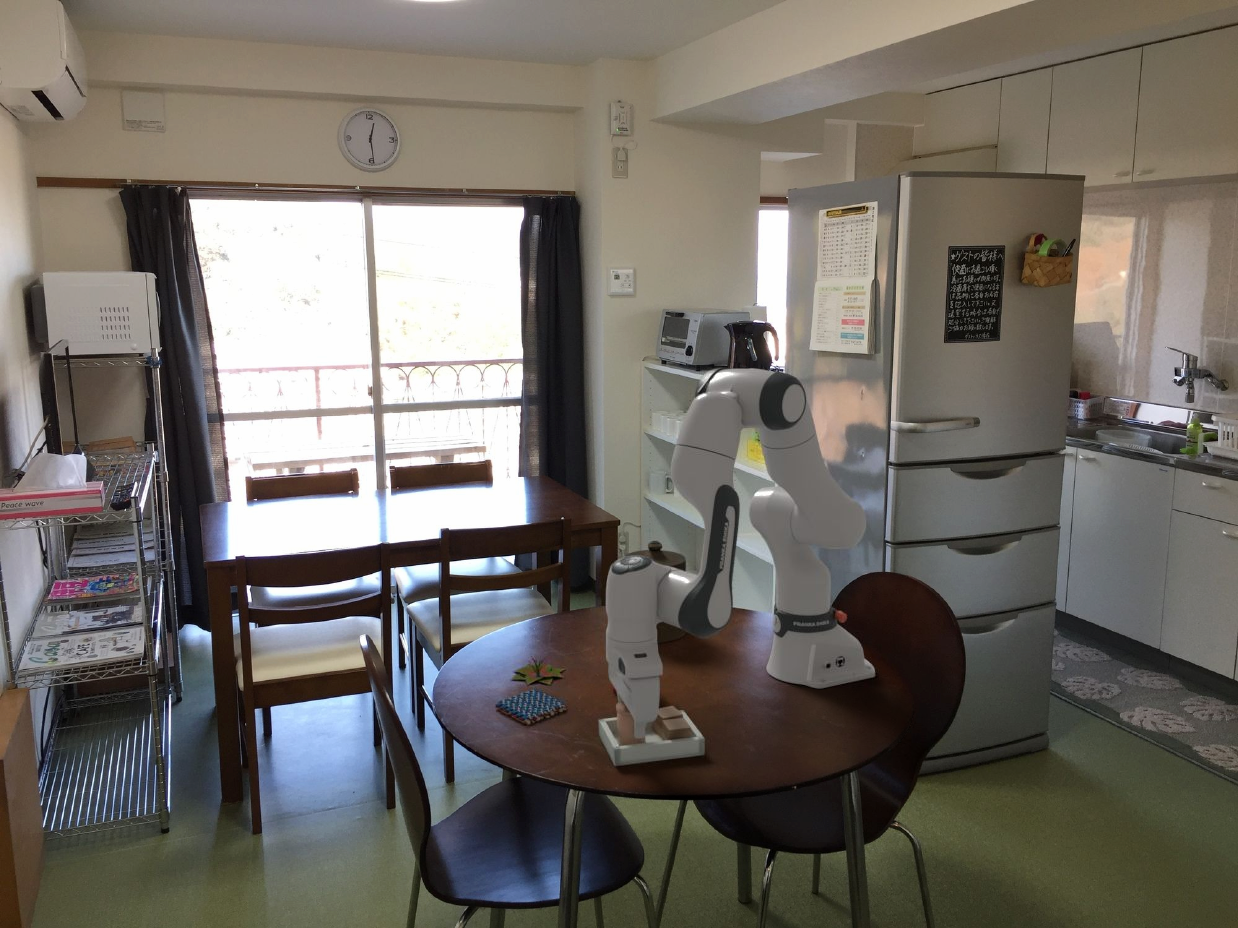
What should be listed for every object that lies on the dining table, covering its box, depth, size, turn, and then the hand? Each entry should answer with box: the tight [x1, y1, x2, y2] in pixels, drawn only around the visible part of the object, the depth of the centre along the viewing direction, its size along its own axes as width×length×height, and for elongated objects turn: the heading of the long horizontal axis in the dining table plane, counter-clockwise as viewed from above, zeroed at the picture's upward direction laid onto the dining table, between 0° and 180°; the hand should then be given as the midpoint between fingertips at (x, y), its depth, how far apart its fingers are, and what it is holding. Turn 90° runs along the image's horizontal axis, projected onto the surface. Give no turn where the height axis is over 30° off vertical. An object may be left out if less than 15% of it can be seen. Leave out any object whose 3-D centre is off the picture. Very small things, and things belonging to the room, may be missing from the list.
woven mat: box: [494, 687, 568, 725], centre depth 185 cm, size 10×11×2 cm
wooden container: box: [623, 540, 687, 643], centre depth 225 cm, size 15×15×22 cm
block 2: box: [662, 718, 691, 741], centre depth 169 cm, size 4×4×4 cm
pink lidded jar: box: [615, 701, 646, 746], centre depth 169 cm, size 5×5×7 cm
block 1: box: [653, 705, 683, 738], centre depth 173 cm, size 4×4×4 cm
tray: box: [598, 709, 706, 767], centre depth 170 cm, size 16×12×3 cm
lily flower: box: [510, 653, 566, 686], centre depth 201 cm, size 12×12×5 cm
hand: (631, 724), depth 169 cm, fingers open, 8 cm apart
